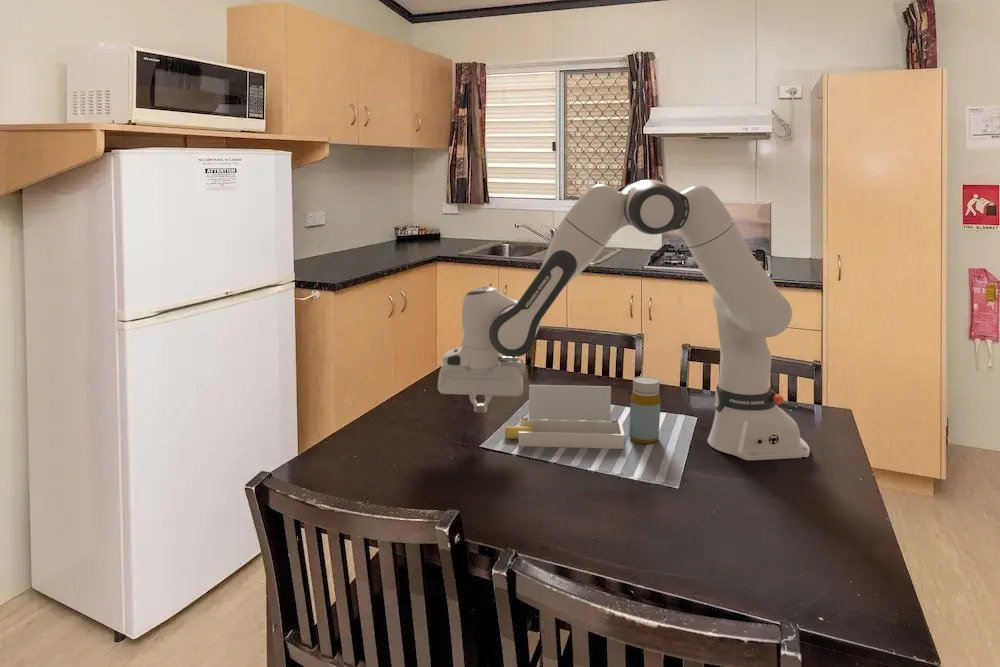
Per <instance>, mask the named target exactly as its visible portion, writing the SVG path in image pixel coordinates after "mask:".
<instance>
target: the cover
mask: <svg viewBox="0 0 1000 667" xmlns="http://www.w3.org/2000/svg"><path fill="white" fill-rule="evenodd" d="M611 400H612V386H609V385H608V386H605V385H604V386H603V385H601V386H599V385H597V386H596V385H553V384H552V385H550V384H529V385H528V420H563V421H604V422H611V412H612V411H611V410H612V407H611V406H612V404H611V403H612V401H611Z"/></svg>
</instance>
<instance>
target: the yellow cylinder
mask: <svg viewBox="0 0 1000 667" xmlns="http://www.w3.org/2000/svg"><path fill="white" fill-rule="evenodd" d="M504 429H505V430H504V438H505V439H510V440H512V439H513V440H514V439H515V440H517V439H518V440H519V431H520V432H534V427H523V426H518V425H514V426H513V425H505V427H504Z"/></svg>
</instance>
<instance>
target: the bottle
mask: <svg viewBox="0 0 1000 667" xmlns="http://www.w3.org/2000/svg"><path fill="white" fill-rule="evenodd" d="M660 387H661V386H660V379H659V378H657V377H653V376H648V375H640V376H636V377H634V378H633V380H632V394H631V396H630V404H629V405H630V408H629V409H630V410H629V429H628V430H629V431H628V432H629V434H628V436H629V439H630V440H631V441H632V442H634V443H636V444H641V445H651V444H654V443H656V442H657V441H658V440H659V437H660V420H661V419H660V418H661V397H660ZM650 443H651V444H650Z"/></svg>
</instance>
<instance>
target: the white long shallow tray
mask: <svg viewBox="0 0 1000 667" xmlns="http://www.w3.org/2000/svg"><path fill="white" fill-rule="evenodd" d="M519 424H520V426H523V427H534V432H520V431H519V439H518V447H540V448H543V447H544V448H546V447H547V448H577V449H580V448H581V449H583V448H585V449H618V450H620V449H621V450H625V432H624V427H623V423H622V421H619V419H616V418H615V419H611V418H610V421H590V420H548V419H529V416H528V417H527V416H523V417H521V419H520V423H519Z"/></svg>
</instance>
